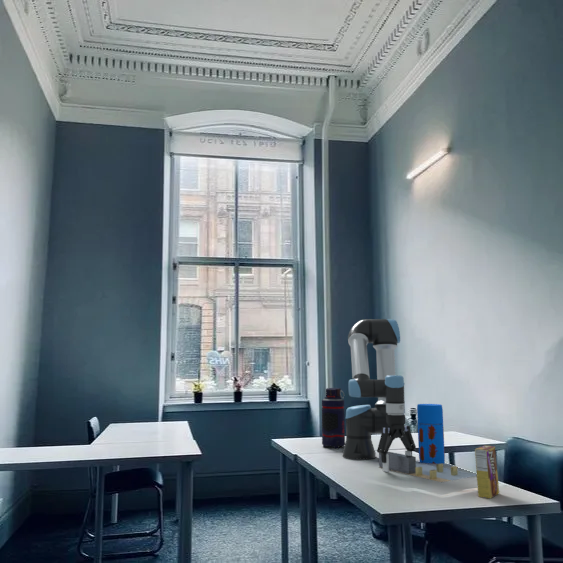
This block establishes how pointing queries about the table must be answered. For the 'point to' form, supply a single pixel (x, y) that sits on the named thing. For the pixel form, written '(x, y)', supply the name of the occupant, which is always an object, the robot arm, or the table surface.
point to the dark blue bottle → (333, 419)
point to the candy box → (486, 471)
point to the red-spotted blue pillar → (430, 433)
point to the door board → (440, 473)
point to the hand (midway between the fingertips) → (397, 469)
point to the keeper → (434, 473)
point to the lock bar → (400, 463)
